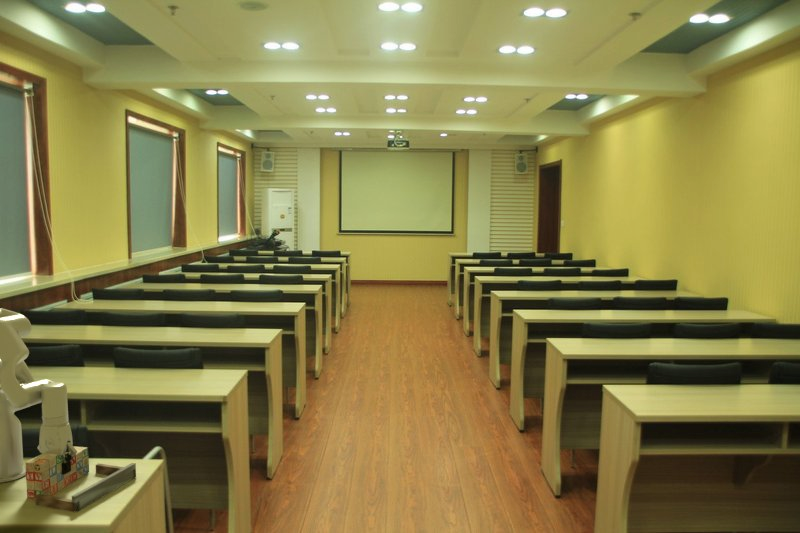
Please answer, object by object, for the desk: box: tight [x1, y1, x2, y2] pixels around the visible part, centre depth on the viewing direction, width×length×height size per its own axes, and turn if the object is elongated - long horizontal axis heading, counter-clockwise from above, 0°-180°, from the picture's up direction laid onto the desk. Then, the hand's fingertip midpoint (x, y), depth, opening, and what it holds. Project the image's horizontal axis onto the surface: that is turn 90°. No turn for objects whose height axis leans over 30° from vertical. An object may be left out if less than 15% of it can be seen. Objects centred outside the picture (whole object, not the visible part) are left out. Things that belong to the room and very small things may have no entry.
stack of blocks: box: [24, 446, 90, 500], centre depth 206 cm, size 21×6×12 cm, turn 169°
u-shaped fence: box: [34, 462, 137, 513], centre depth 202 cm, size 16×26×5 cm, turn 163°
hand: (58, 471), depth 206 cm, fingers closed on stack of blocks, 6 cm apart
